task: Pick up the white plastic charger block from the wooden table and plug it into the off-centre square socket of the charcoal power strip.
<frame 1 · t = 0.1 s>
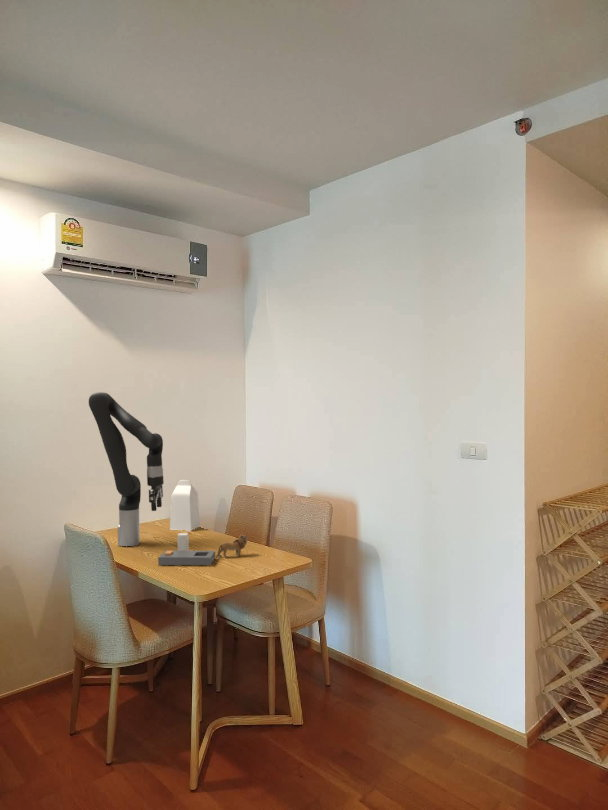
hand: (156, 508, 258), 17 cm above the table, tool pointing down, fingers open, 8 cm apart
milk: (185, 528, 290), on the table
charger: (183, 553, 243), on the table
lion figurine: (232, 556, 239), on the table
power strip: (187, 562, 230), on the table
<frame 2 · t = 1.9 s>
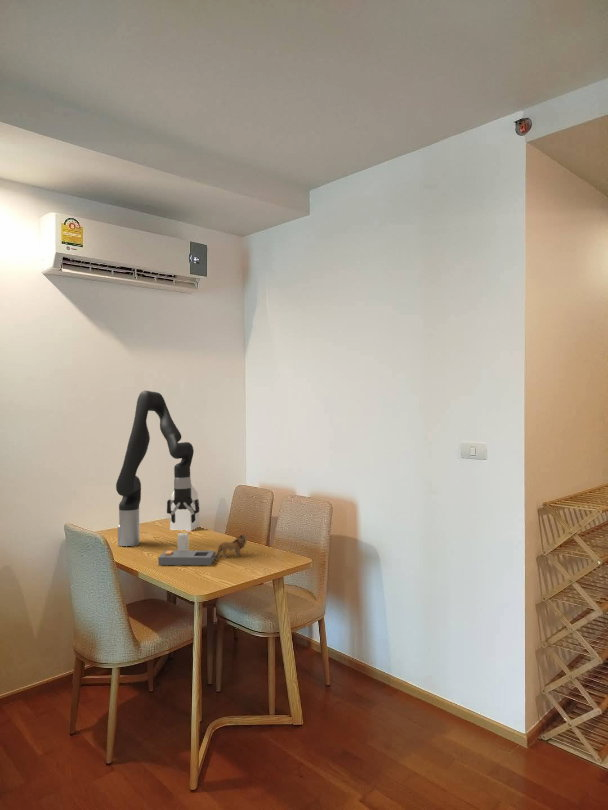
hand: (183, 522, 242), 14 cm above the table, tool pointing down, fingers open, 8 cm apart
nothing on the table moved.
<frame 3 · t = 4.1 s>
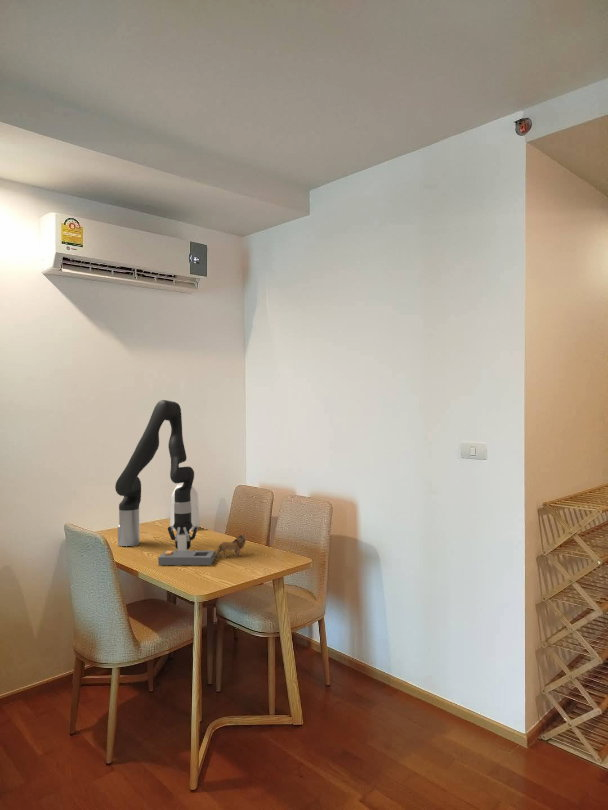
hand: (183, 548, 242), 2 cm above the table, tool pointing down, fingers closed on charger, 4 cm apart
charger: (183, 553, 243), on the table, touching gripper
everything else where it was.
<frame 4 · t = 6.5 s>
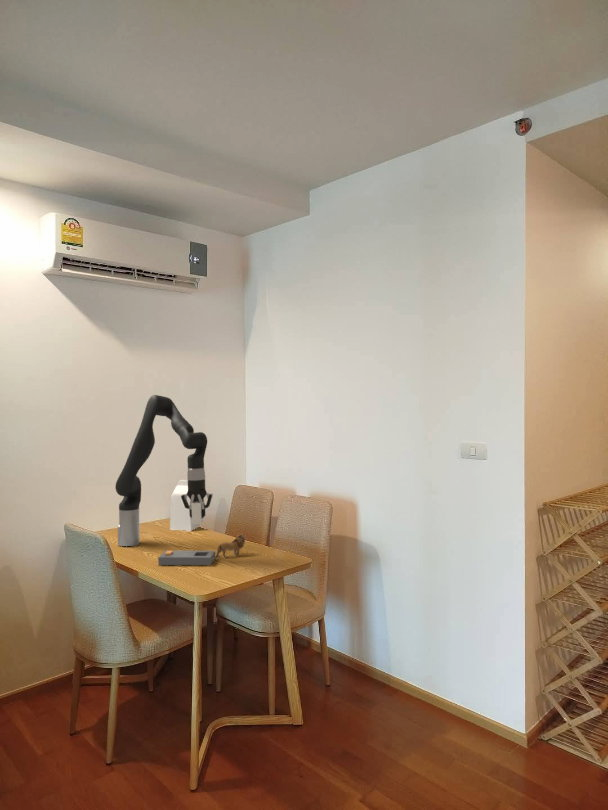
hand: (197, 517, 234), 18 cm above the table, tool pointing down, fingers closed on charger, 4 cm apart
charger: (197, 522, 234), point 16 cm above the table, touching gripper
everything else where it was.
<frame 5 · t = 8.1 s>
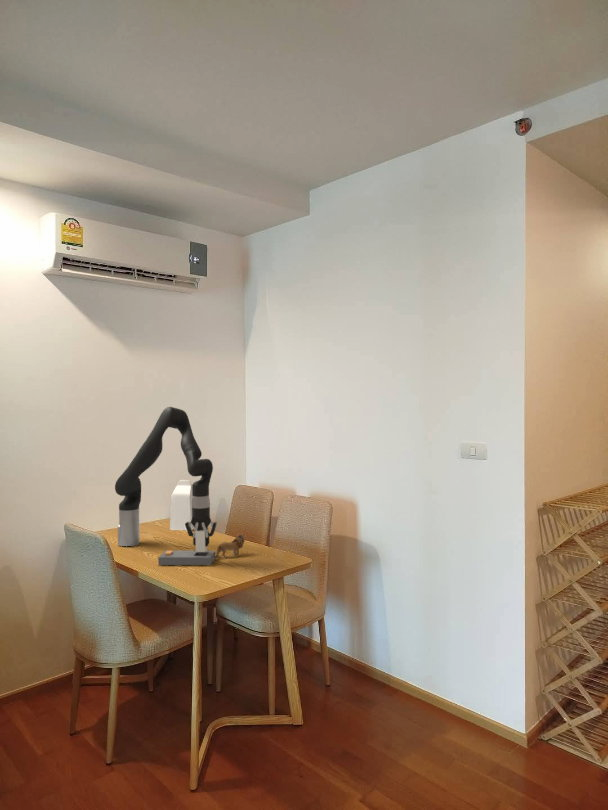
hand: (201, 545, 230), 7 cm above the table, tool pointing down, fingers closed on charger, 4 cm apart
charger: (201, 550, 230), point 5 cm above the table, touching gripper
lion figurine: (230, 556, 239), on the table, touching power strip
everything else where it was.
when the fingers open (5 cm above the table, at t = 9.3 s): charger drops 2 cm, resting in power strip.
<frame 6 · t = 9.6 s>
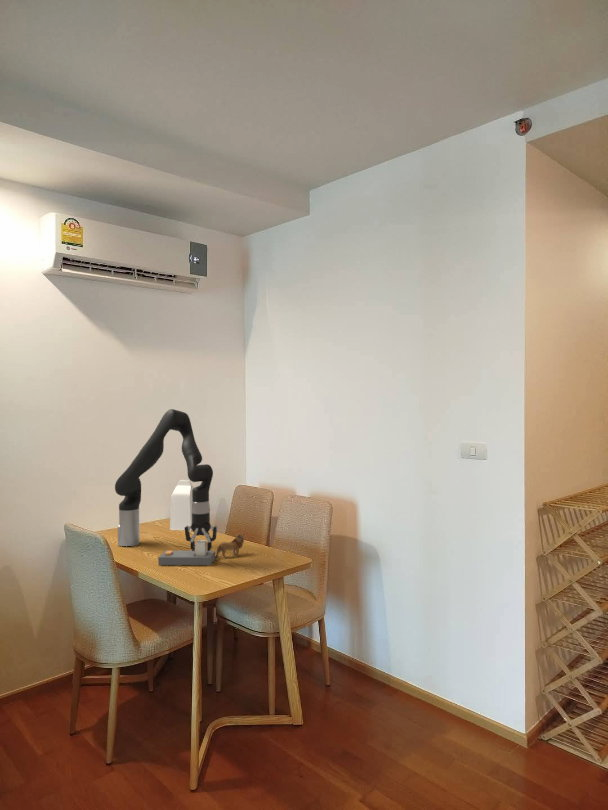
hand: (201, 550, 230), 5 cm above the table, tool pointing down, fingers open, 6 cm apart
charger: (201, 562, 230), resting in power strip
lion figurine: (230, 556, 239), on the table
everything else where it was.
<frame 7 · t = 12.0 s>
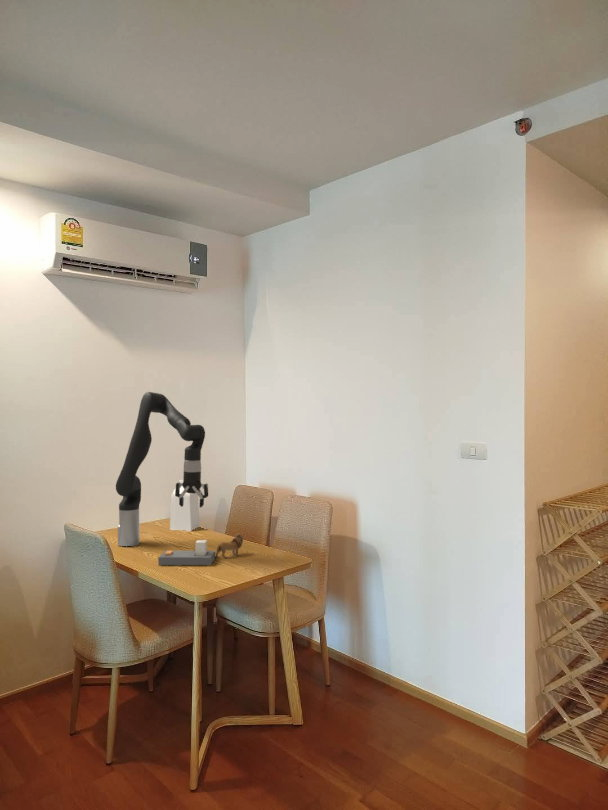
hand: (191, 506, 237), 22 cm above the table, tool pointing down, fingers open, 8 cm apart
lion figurine: (229, 556, 239), on the table, touching power strip
everything else where it was.
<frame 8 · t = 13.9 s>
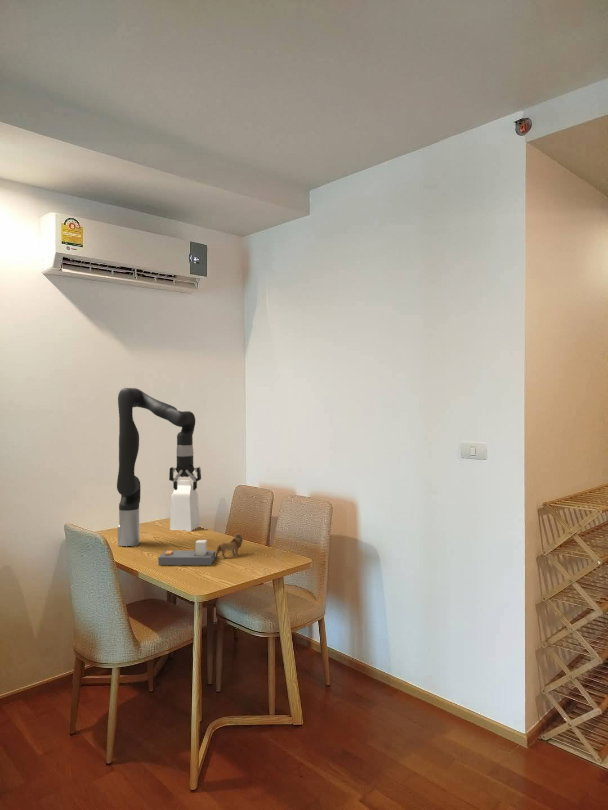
hand: (185, 489, 247), 28 cm above the table, tool pointing down, fingers open, 8 cm apart
lion figurine: (229, 556, 239), on the table
everything else where it was.
at the end: charger 0.0 cm from the target spot on the power strip, point 0.0 cm above the power strip's base; charger tilted 0°; the gripper is holding nothing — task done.
